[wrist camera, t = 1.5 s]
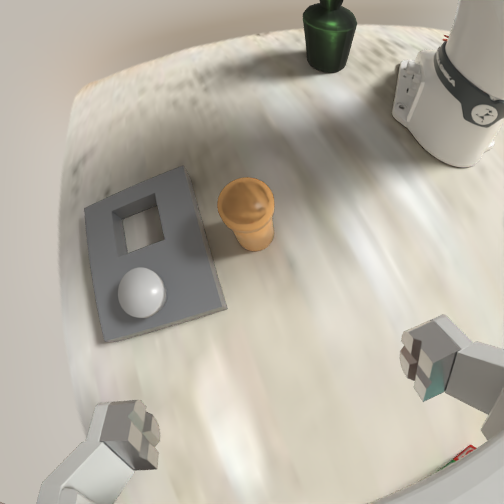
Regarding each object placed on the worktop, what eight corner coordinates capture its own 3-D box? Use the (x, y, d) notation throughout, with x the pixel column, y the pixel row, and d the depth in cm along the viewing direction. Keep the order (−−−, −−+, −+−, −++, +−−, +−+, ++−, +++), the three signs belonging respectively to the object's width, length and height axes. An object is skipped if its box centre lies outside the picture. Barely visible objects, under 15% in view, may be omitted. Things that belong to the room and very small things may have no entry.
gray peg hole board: (95, 216, 40) (72, 199, 34) (189, 176, 40) (175, 152, 34) (117, 341, 35) (90, 341, 29) (227, 308, 35) (215, 303, 29)
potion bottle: (334, 83, 42) (345, -12, 24) (292, 63, 44) (289, -28, 26) (358, 61, 43) (372, -25, 25) (319, 43, 45) (321, -40, 27)
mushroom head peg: (238, 210, 38) (224, 174, 29) (280, 216, 37) (278, 181, 28) (229, 250, 37) (211, 224, 28) (273, 257, 36) (268, 233, 27)
